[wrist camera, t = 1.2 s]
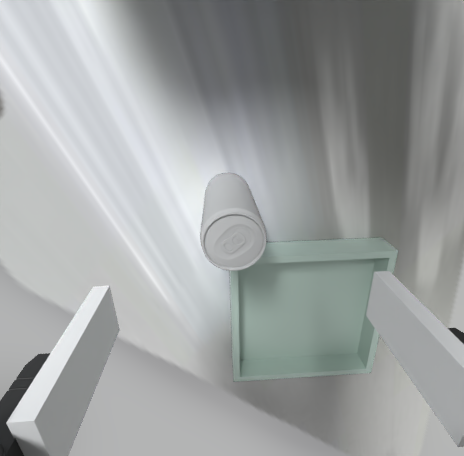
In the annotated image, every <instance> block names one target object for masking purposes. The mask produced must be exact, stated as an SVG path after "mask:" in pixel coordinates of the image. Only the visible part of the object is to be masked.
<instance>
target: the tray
mask: <svg viewBox="0 0 464 456" xmlns="http://www.w3.org/2000/svg"><path fill="white" fill-rule="evenodd" d="M397 254H398V250H397V249H396V248H394V247H393V246H392V245H391V244H389V243H388V242H387V241H386V240H385V239H383V238H382V237H377V238H355V239H333V240H310V241H288V242H266V247H265V250H264V253H263V254H262V256H261V258H260V259H259V260H258V261H257V262H256V263H255V264H253V265H252V266H250V267H248V268H246V269H242V270H238V271H230V305H231V338H232V366H233V380H234V382H238V381H254V380H269V379H285V378H300V377H316V376H331V375H347V374H363V373H371V371H372V366H373V362H374V357H375V353H376V348H377V344H378V339H379V333H378V332H377V331H376V329H375V328H374V326H373V325H372V323H371V322H370V321H369V319H368V318H367V316H366V313H367V307H368V302H369V297H370V292H371V286H372V281H373V276H374V272H377V271H390V272H391V273H392V274H393V272H394V268H395V263H396V259H397Z"/></svg>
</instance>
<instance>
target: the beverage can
mask: <svg viewBox="0 0 464 456" xmlns="http://www.w3.org/2000/svg"><path fill="white" fill-rule="evenodd" d="M200 239H201V246H202V249H203V252H204V254H205V256H206V257H207V259H208V260H209V261H210V262H211V263H212V264H213V265H215V266H216V267H218V268H221V269H223V270H229V271H238V270H242V269H246V268H248V267H250V266H252V265H253V264H255V263H256V262H257V261H258V260H259V259H260V258H261V256H262V254H263V253H264V250H265V247H266V230H265V227H264V224H263V221H262V219H261V216H260V214H259V211H258V209H257V206H256V204H255V201H254V199H253V196H252V194H251V191H250V189H249V186H248V184H247V183H246V181H245V180H244V179H243V178H242V177H240V176H238V175H236V174H233V173H222V174H219V175H217V176H215V177H214V178H212V179H211V181H210V182H209V183H208V186H207V188H206V191H205V198H204V208H203V216H202V224H201V233H200Z"/></svg>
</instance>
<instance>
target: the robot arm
mask: <svg viewBox="0 0 464 456" xmlns="http://www.w3.org/2000/svg"><path fill="white" fill-rule="evenodd" d="M366 316H367V318H368V319H369V321H370V322H371V323H372V325H373V326H374V328H375V329H376V331H377V332H378V333H379V335H380V336H381V338H382V339H383V341H384V342H385V343H386V345H387V346H388V348H389V349H390V351H391V352H392V353H393V355H394V356H395V358H396V359H397V361H398V362H399V363H400V365H401V366H402V368H403V369H404V371H405V372H406V373H407V375H408V376H409V378H410V379H411V381H412V382H413V383H414V385H415V386H416V388H417V389H418V391H419V392H420V394H421V395H422V396H423V398H424V399H425V401H426V402H427V404H428V405H429V406H430V408H431V409H432V411H433V412H434V414H435V415H436V416H437V418H438V419H439V421H440V422H441V424H442V425H443V426H444V428H445V429H446V431H447V432H448V433H449V435H450V436H451V438H452V439H453V441H454V442H455V443H456V445H457V446H458V447H463V446H464V333H463V332H461V331H459V330H458V329H456V328H447V327H446V326H445V325H444V324H443V323H442V322H441V321H440V320H439V319H438V318H437V317H436V316H434V315H433V314H432V313H431V312H430V311H429V310H428V309H427V308H426V307H425V306H424V305H423V304H422V303H421V302H420V301H419V300H418V299H417V298H416V297H415V296H414V295H413V294H412V293H411V292H410V291H409V290H408V289H407V288H406V287H405V286H404V285H403V284H402V283H401V282H400V281H399V280H398V279H397V278H396V277H395V276H394V275H393V274H392V273H391V272H390V271H377V272H374V276H373V281H372V286H371V292H370V297H369V302H368V307H367V313H366ZM118 333H119V325H118V321H117V316H116V312H115V308H114V303H113V299H112V294H111V290H110V286H93V288H92V290H91V291H90V293H89V294H88V296H87V297H86V299H85V301H84V302H83V304H82V305H81V307H80V308H79V310H78V311H77V313H76V315H75V316H74V318H73V319H72V321H71V322H70V324H69V326H68V327H67V329H66V330H65V332H64V333H63V335H62V336H61V338H60V340H59V341H58V343H57V344H56V346H55V347H54V349H53V350H52V352H51V353H49V354H38V355H37V356H36V357H35V358H34V359H32V360H31V361H30V362H29V363H28V364H26V365H25V367H24V368H23V370H22V371H21V372H20V374H19V375H18V377H17V380H15V381H14V382H13V384H12V385H11V387H10V388H9V391H7V392H6V394H5V395H4V397H3V398H2V399H1V401H0V456H68V455H69V452H70V450H71V448H72V445H73V443H74V440H75V438H76V436H77V433H78V431H79V428H80V426H81V423H82V421H83V418H84V416H85V413H86V411H87V409H88V406H89V403H90V401H91V399H92V396H93V394H94V391H95V389H96V386H97V384H98V382H99V379H100V377H101V374H102V372H103V369H104V367H105V364H106V362H107V359H108V357H109V355H110V352H111V349H112V347H113V345H114V342H115V340H116V337H117V335H118Z"/></svg>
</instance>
